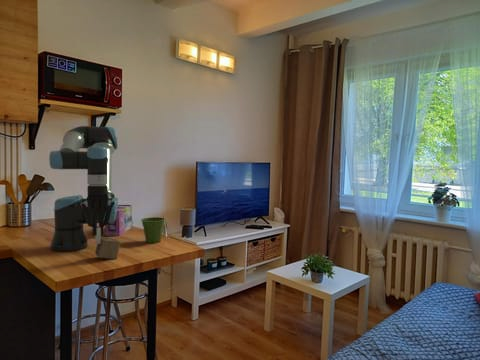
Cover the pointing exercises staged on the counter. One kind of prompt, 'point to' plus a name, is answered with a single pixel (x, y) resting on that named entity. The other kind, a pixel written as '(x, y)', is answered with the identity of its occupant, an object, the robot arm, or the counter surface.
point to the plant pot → (153, 228)
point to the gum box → (120, 221)
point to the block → (108, 248)
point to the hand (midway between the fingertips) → (98, 243)
